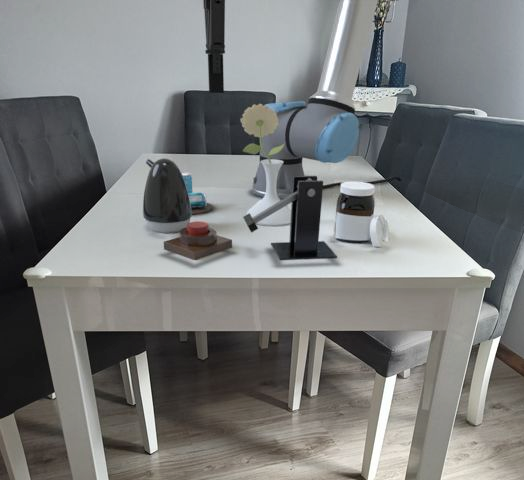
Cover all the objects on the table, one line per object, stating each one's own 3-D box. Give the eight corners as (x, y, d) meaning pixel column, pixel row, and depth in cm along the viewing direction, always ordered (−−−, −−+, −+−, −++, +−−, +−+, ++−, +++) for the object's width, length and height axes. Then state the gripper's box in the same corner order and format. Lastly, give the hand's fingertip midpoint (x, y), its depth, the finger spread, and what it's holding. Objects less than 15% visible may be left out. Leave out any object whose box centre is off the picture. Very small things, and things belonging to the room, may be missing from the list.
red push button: (198, 229, 102) (197, 220, 101) (212, 233, 100) (212, 224, 99) (182, 233, 99) (182, 224, 98) (197, 238, 97) (197, 228, 96)
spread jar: (332, 233, 115) (338, 178, 109) (384, 236, 114) (392, 181, 109) (333, 251, 105) (339, 192, 99) (390, 254, 104) (399, 195, 98)
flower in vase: (300, 220, 123) (307, 103, 111) (287, 234, 114) (293, 108, 101) (247, 214, 127) (249, 100, 114) (231, 227, 117) (230, 104, 105)
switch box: (201, 243, 107) (201, 221, 105) (232, 253, 103) (232, 230, 100) (164, 255, 100) (162, 232, 98) (195, 266, 96) (194, 242, 94)
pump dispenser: (169, 222, 119) (165, 152, 111) (202, 232, 113) (200, 158, 106) (134, 232, 112) (126, 158, 104) (166, 243, 106) (161, 165, 99)
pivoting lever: (252, 235, 95) (246, 223, 93) (247, 225, 100) (241, 214, 99) (321, 194, 93) (315, 182, 92) (312, 186, 98) (307, 175, 97)
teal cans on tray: (205, 200, 136) (204, 169, 132) (218, 213, 127) (217, 179, 123) (159, 203, 132) (157, 171, 128) (168, 216, 123) (166, 182, 119)
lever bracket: (279, 266, 97) (283, 184, 90) (270, 249, 105) (273, 173, 97) (336, 264, 99) (344, 184, 91) (323, 248, 106) (330, 173, 99)
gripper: (187, -56, 94) (193, 89, 106) (193, -68, 83) (200, 95, 95) (228, -54, 96) (230, 89, 108) (240, -66, 85) (241, 95, 97)
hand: (216, 92), depth 102 cm, fingers closed
